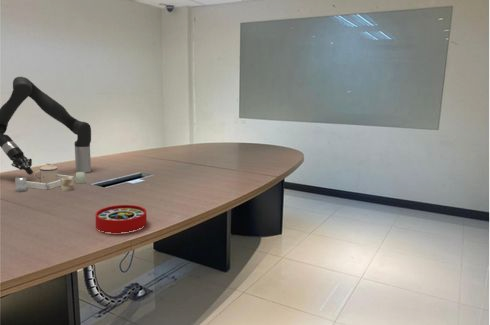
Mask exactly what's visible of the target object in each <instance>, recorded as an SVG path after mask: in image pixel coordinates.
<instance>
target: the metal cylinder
mask: <svg viewBox="0 0 490 325" xmlns="http://www.w3.org/2000/svg"><path fill="white" fill-rule="evenodd" d="M14 181H15V191H16V192H17V193H23V192H27V191H28V187H27V181H28V180H27V176H17V177H15V178H14Z"/></svg>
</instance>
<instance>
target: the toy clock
mask: <svg viewBox="0 0 490 325" xmlns="http://www.w3.org/2000/svg"><path fill="white" fill-rule="evenodd" d="M94 215H95V229H96V228H97V229H98V230H100V231H104V232H111V233H121V232H129V231H133V230H137V229H139V228H142V227H143V226H145V225H146V226H147V224H146V222H147V220H148V219H147V210H146V208H144V207H143V206H140V205H133V204H130V205H129V204H119V205H112V206H111V205H110V206H107V207H103V208H101V209H99V210H97V211H96V212H95V214H94ZM146 226H145V227H146ZM97 229H96V230H97ZM98 230H97V231H98Z"/></svg>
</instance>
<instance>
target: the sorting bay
mask: <svg viewBox="0 0 490 325" xmlns="http://www.w3.org/2000/svg"><path fill="white" fill-rule="evenodd" d="M61 178H72V179H73V183H74V182H76V175H75V176H73V175H65V174H58V181H54V182H51V183H47V184H46V183H41V182H37V181H28V180H27V188H31V189H38V190H45V191H48V190H51V189H54V188H55V189H56V188H58V187H61V180H60V179H61Z"/></svg>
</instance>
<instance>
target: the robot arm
mask: <svg viewBox="0 0 490 325" xmlns="http://www.w3.org/2000/svg"><path fill="white" fill-rule="evenodd" d="M28 97H29V98H30V99H32V100H33V101H34V102H35V103H36V105H37V106H38V107H39V108H40V109H41V110H42V111H43V112H44V113H45V114H47V115H49V117H51V118H53V119H54V120H55V121H57V122H59V123H61V124H62V125H64V126H65V127H66V128H67V129H68V130H70V132H72V133H73V134H74V135H77V137H76V138H77V139H76V141H74V159H75V161H74V162H75V173H76V172H85V174H86V173H92V160H91V158H92V156H91V143H92V128H91V125H90V124H89V123H88V122H86V121H80V120H79V119H77V118H74V116H72V115H71V114H69V112H68V111H67V109H66V108H65V107H64V106H63V105H62V104H60V103H59V102H58V101H56V100H55V99H54V98H52V97H50V95H48V94H47V93H45V92H44V91H42V90H41V89H40V88H39V87H37V85H35V84H34V83H33V82H32V81H31V80H30V79H28V77H24V76H17V77H15V78H14V79H13V81H12V92H11V94H10V97H9V99H8V100H7V101H6V102H4V103H3V104H2V106H1V107H0V147H1V149H2V151H3V152H4V154H5V155H6V156H7V157H8V159H9V160H10V161H12V163H11V164H10V165H11V166H12V167H14V168H16V169H18V170H20V171H25V173H27V174H28V175H32V174H33V173H34V171H33V169H32V168H31V167H32V165H33V162H32V161H33V159H32V158H27V157H26V156H25V154H24V153H25V152H23V151H22V149H21V148H20V147H19V145H18V144H17V143H16V142H14V140H13V139H12V138H11V136H9V135H8V134H5V133H6V132H7V129H8V125H9V122H10V120H11V119H12V117H13V116H14V114H15V113H16V111H17V110H18V109H19V108H20V106H21V105H22V104H23V103H24V102H25V101H26V99H27V98H28Z"/></svg>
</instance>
